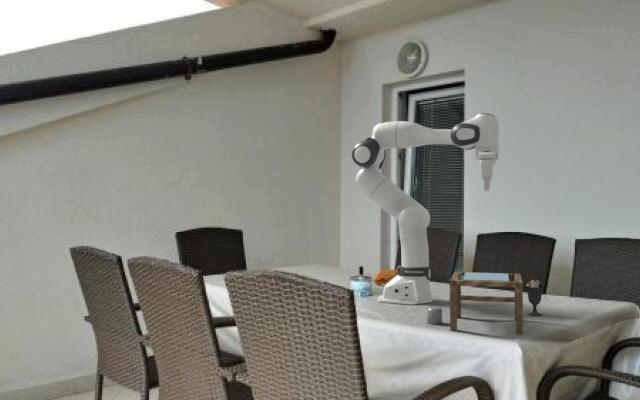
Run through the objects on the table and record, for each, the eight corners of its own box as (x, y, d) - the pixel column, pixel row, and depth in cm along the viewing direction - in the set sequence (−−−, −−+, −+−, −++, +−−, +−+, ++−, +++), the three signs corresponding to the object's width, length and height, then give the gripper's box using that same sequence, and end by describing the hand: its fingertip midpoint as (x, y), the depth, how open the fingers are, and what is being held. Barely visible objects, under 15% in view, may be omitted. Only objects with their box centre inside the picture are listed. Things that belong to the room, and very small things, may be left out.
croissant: (382, 285, 299) (380, 269, 300) (410, 283, 291) (408, 267, 291) (368, 288, 288) (366, 272, 288) (396, 286, 279) (394, 269, 280)
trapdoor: (463, 287, 191) (463, 279, 191) (466, 277, 208) (466, 270, 208) (508, 288, 187) (508, 280, 187) (508, 279, 204) (508, 271, 203)
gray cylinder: (426, 324, 199) (426, 309, 199) (428, 321, 204) (427, 306, 204) (441, 325, 197) (441, 310, 197) (442, 322, 202) (442, 307, 202)
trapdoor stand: (450, 330, 189) (449, 279, 189) (455, 316, 210) (454, 270, 210) (523, 334, 183) (522, 281, 183) (520, 319, 204) (520, 271, 204)
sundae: (521, 313, 215) (521, 271, 215) (539, 312, 216) (539, 271, 215) (529, 316, 208) (529, 274, 208) (548, 316, 209) (547, 273, 209)
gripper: (479, 157, 240) (479, 191, 240) (477, 153, 221) (477, 191, 221) (495, 156, 238) (495, 191, 239) (495, 153, 219) (495, 191, 219)
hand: (487, 191), depth 229 cm, fingers open, 8 cm apart
